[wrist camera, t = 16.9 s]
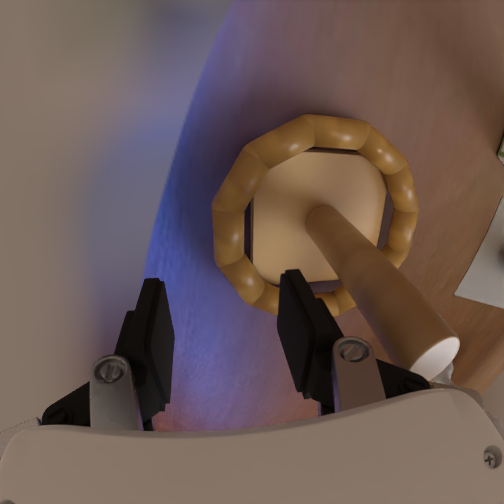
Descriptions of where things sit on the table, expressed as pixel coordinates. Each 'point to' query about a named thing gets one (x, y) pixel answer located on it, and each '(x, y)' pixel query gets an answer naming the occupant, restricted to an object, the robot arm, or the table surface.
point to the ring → (279, 150)
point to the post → (345, 250)
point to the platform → (487, 266)
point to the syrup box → (501, 152)
